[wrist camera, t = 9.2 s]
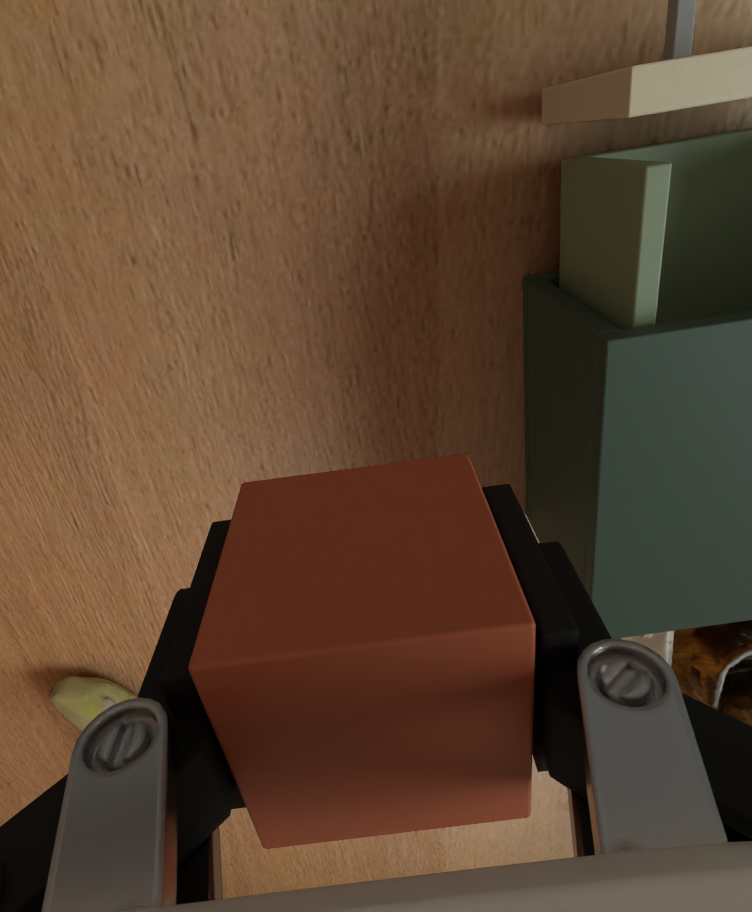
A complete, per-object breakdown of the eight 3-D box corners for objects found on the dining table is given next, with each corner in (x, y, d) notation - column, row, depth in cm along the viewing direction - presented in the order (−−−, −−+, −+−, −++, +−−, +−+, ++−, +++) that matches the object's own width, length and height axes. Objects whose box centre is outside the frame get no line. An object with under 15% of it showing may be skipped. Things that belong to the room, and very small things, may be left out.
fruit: (173, 664, 37) (159, 708, 34) (191, 797, 45) (181, 843, 42) (61, 662, 37) (36, 706, 34) (97, 797, 44) (80, 843, 41)
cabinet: (522, 276, 26) (606, 340, 18) (797, 233, 26) (1015, 278, 17) (525, 514, 33) (588, 643, 24) (744, 483, 32) (883, 602, 24)
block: (240, 480, 11) (185, 668, 7) (468, 451, 11) (537, 624, 7) (286, 641, 13) (262, 852, 9) (476, 617, 13) (531, 819, 9)
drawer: (541, -55, 20) (646, -158, 13) (872, -112, 19) (1159, -249, 13) (541, 387, 28) (604, 467, 21) (773, 352, 28) (914, 421, 21)
